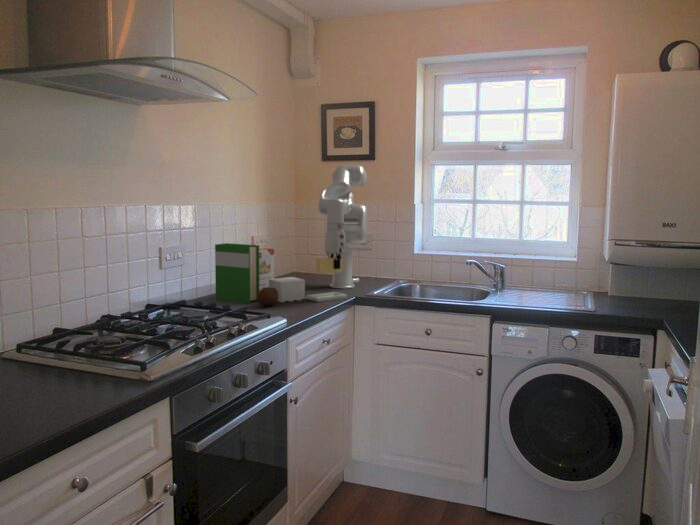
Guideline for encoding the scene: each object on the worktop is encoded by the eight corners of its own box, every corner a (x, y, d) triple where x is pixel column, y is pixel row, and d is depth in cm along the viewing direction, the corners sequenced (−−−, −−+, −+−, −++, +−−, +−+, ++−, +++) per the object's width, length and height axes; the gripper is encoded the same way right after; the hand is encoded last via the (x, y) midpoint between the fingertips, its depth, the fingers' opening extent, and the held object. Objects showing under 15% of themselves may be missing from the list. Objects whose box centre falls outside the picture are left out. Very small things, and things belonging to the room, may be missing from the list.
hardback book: (259, 300, 245) (259, 245, 243) (249, 303, 239) (248, 246, 236) (226, 296, 253) (226, 243, 250) (215, 299, 247) (215, 244, 244)
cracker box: (252, 296, 254) (252, 250, 252) (243, 295, 258) (242, 249, 255) (274, 293, 265) (274, 248, 263) (265, 291, 269) (265, 247, 266)
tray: (335, 295, 260) (335, 291, 260) (346, 298, 254) (347, 294, 253) (306, 299, 250) (306, 295, 250) (317, 302, 244) (317, 298, 244)
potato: (281, 305, 236) (281, 286, 235) (268, 309, 228) (268, 289, 227) (267, 303, 240) (267, 285, 239) (253, 307, 231) (253, 288, 230)
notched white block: (293, 295, 259) (293, 276, 257) (306, 299, 250) (306, 279, 249) (268, 298, 251) (268, 279, 250) (281, 302, 242) (281, 282, 241)
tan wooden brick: (338, 271, 256) (338, 257, 255) (342, 272, 254) (342, 257, 253) (316, 273, 249) (316, 258, 248) (320, 274, 246) (320, 259, 246)
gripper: (353, 227, 247) (352, 269, 249) (331, 225, 259) (330, 265, 261) (339, 228, 242) (338, 270, 244) (317, 226, 255) (317, 266, 257)
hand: (334, 267), depth 253 cm, fingers closed on tan wooden brick, 3 cm apart
